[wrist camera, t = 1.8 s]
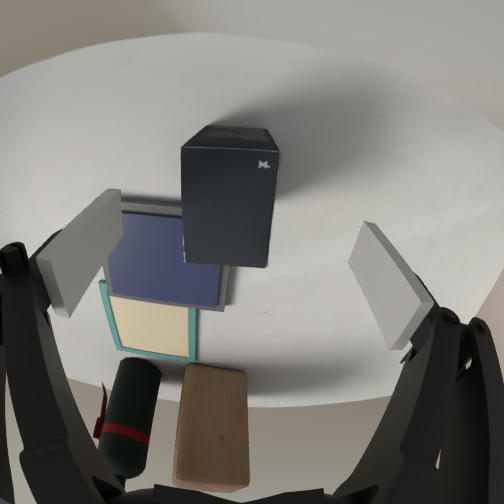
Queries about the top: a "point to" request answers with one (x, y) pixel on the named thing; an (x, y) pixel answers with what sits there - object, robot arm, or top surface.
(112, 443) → the wine bottle
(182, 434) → the wooden block
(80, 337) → the top surface
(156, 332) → the print frame
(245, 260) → the box
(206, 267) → the ink pad
